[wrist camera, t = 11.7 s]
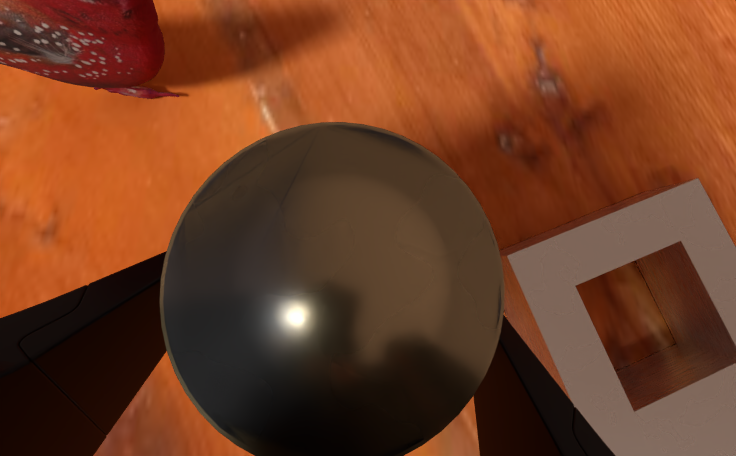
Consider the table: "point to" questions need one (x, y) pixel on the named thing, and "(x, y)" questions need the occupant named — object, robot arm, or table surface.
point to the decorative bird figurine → (85, 42)
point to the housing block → (677, 305)
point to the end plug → (332, 294)
